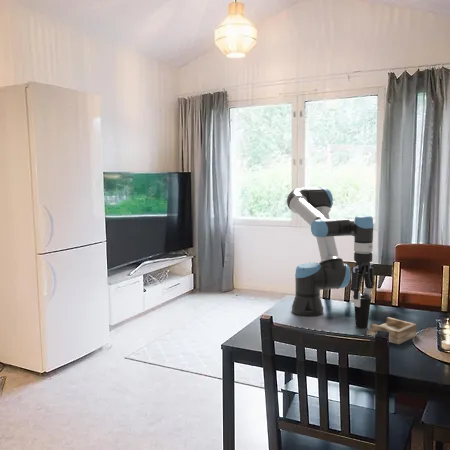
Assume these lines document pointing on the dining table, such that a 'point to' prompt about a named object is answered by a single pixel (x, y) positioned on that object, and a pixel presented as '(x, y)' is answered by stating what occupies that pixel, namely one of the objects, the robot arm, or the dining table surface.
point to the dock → (395, 330)
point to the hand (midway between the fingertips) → (362, 304)
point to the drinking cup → (362, 311)
